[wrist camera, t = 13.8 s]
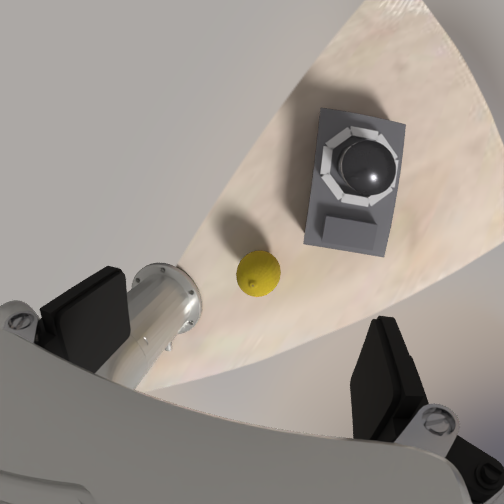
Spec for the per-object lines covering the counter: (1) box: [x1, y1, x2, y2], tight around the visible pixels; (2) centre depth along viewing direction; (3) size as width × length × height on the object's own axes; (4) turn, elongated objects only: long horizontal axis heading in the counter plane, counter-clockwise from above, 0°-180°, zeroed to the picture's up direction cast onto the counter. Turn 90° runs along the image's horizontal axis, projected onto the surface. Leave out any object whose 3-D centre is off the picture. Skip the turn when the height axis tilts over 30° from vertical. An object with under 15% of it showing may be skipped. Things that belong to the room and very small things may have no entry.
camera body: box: [303, 108, 406, 257], centre depth 33 cm, size 16×10×6 cm, turn 174°
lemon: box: [236, 251, 281, 297], centre depth 38 cm, size 6×6×8 cm
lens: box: [337, 140, 396, 195], centre depth 28 cm, size 5×5×7 cm
